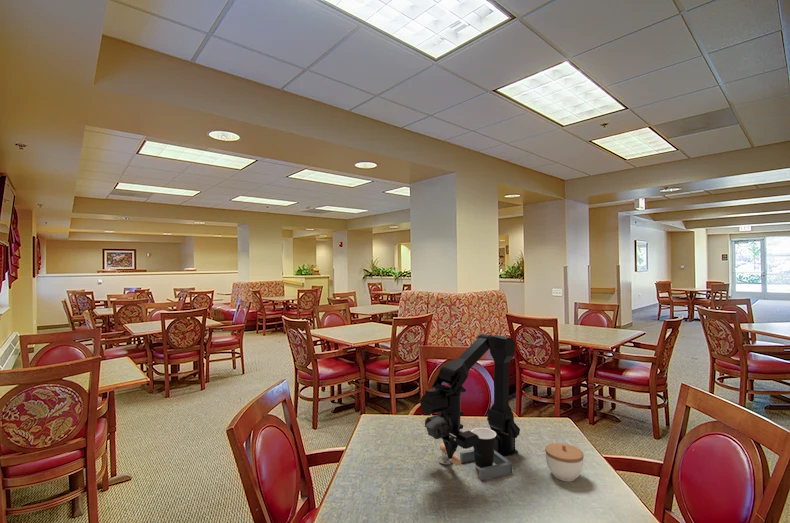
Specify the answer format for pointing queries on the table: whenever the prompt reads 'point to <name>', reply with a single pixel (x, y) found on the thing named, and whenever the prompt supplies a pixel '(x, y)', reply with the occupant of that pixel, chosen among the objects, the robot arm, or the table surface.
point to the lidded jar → (564, 461)
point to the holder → (491, 471)
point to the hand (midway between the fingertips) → (450, 458)
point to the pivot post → (444, 459)
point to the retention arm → (454, 457)
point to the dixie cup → (484, 447)
